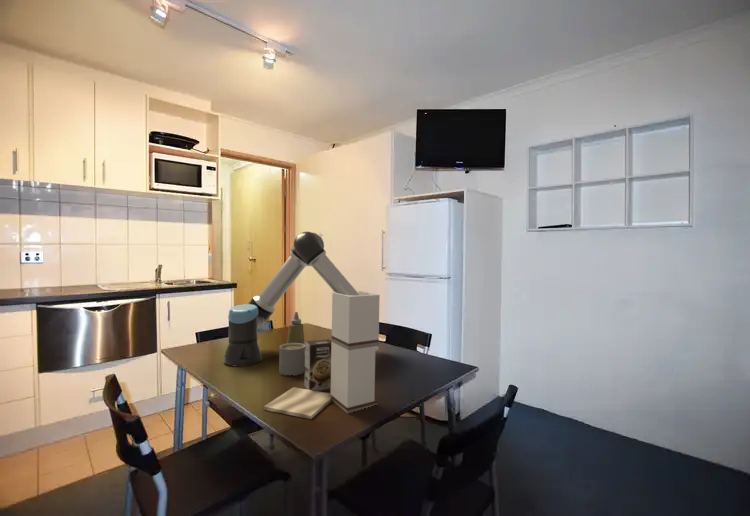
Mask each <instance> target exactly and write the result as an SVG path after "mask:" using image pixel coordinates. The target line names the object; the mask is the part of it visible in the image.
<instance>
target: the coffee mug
mask: <svg viewBox="0 0 750 516" xmlns="http://www.w3.org/2000/svg"><path fill="white" fill-rule="evenodd" d="M305 346H306V344H305V343H304V344H302V343H283V344H281V345H279V350H278V351H279V356H278V357H279V361H278V362H279V365H278V371H279V372H278V373H279V374H280V375H282V376H287V375H290V377H291V375H293V376H298V374H299V375H301V374H304V373H305ZM303 372H304V373H303Z"/></svg>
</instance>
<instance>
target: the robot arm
mask: <svg viewBox="0 0 750 516" xmlns="http://www.w3.org/2000/svg"><path fill="white" fill-rule="evenodd" d="M324 248H325V243H324V239H322V237H321V236H320V235H319V234H317V233H316V232H311V231H302V232H300V233H298V234H297V235H296V236H295V238H294V241H293V246H292V248H290V251H289V254H290V255H289V257H288V258H287V259H286V260H285V262H284V263H283V264H282V266H281V267H280V268H279V269H278V271H277V272H276V273H275V274H274V276H273V277H272V278H271V279H270V280H269V282H268V284H267V285H266V286H265V287H264V289H263V290H262V291H261V292H260V293H259V295H254V296H253V297H252V298H251V300H250V301H249V302H248V303H246V304H245V303H243V304H239V305H234V306H233V307H231V308H230V309H229V311H228V317H227V318H228V344H227V348H226V351H225V354H224V356H223V364H224V363H226V364H228V365H227V366H229V365H236V366H235V367H244V366H243V365H247V366H251V365H250V364H252V365H255V364H257V362H258V363H259V361H260V362H261V361H262V359H263V358H262V353H261V350H260V346H259V342H258V341H259V340H258V337H259V336H258V332H259V331H258V330H259V329H261V328H263V327H264V326H265V325H266V324H267V323H268V322H269V321H270V318H271V316H272V315H273V314H274V312H275V306H276V305H277V304H278V302H279V301H280V299H281V298H282V297H283V296H284V294H285V293H286V292H287V291H288V289H289V288H290V286H291V285H292V284H293V283H294V282H295V281H296V279H297V278H298V276H300V275H301V273H302V271H303V270H304V269H305V268H306V267H312V268H313V269H314V271H316V273H317V274H318V275H319V276H320V277H321V279H323V281H324V282H325V284H327V286H328V287H330V289H331V290H332V292H335V293H339V294H344V295H353V296H359V291H357V290H356V289H355V287H354V286H353V285H352V284H351V283H350V282H349V281H348V279H347V278H346V277H345V276H344V275H343V273H342V272H341V271H340V270H339V269H338V268H337V267H336V266H335V264H334V263H333V262H332V261H331V260H330V258H329V257H328V256H327V252H326V250H325V249H324ZM254 363H255V364H254ZM226 364H225V365H226ZM241 365H242V366H241Z"/></svg>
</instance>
